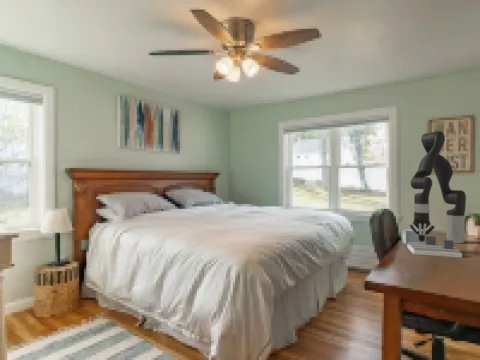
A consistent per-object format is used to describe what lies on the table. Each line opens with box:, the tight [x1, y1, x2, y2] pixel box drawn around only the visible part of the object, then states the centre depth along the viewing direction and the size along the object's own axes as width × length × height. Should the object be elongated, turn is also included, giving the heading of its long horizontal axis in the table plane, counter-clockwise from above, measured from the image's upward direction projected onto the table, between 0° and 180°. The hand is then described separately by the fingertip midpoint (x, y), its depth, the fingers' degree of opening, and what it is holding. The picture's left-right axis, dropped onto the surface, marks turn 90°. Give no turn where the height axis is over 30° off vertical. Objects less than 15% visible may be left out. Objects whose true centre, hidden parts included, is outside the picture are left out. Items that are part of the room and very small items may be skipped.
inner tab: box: [425, 235, 437, 245], centre depth 164 cm, size 3×4×6 cm
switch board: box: [406, 241, 463, 258], centre depth 160 cm, size 16×22×4 cm
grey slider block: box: [442, 238, 454, 249], centre depth 155 cm, size 3×4×6 cm
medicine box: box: [402, 229, 420, 245], centre depth 181 cm, size 8×4×9 cm, turn 84°
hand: (421, 241), depth 166 cm, fingers closed
